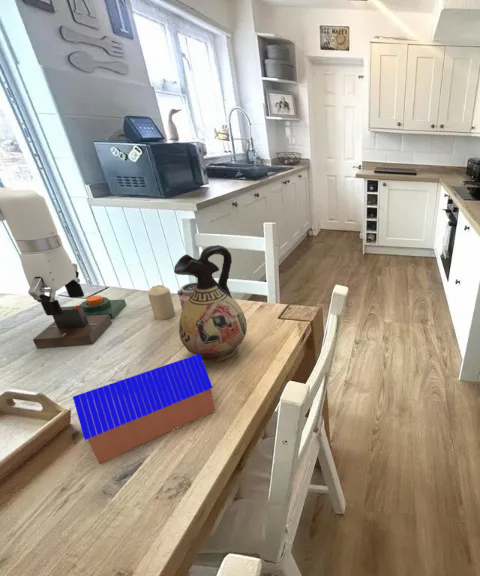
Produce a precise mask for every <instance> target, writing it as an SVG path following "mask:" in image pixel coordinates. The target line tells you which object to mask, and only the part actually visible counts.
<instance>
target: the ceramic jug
mask: <svg viewBox="0 0 480 576" xmlns="http://www.w3.org/2000/svg"><path fill="white" fill-rule="evenodd" d="M214 255H220V256H222V257H223V262H222V266H221V272H220V275H219V278H218V280H217V281H218V282H217V281H216V280H215V278H214V276H213V274H215V273H218V272H219V271H220V267H218V266H217V265H216V263H214V262H212V261H210V260H209V258H210V257H212V256H214ZM232 260H233V259H232V253H231V252H230V251H229V249H228V248H226V247H225V246H224V245H219V244H216V245H209V246H208V247H206V248H204V249H203V250H202V251H201V252H200V256H199V258H198V259H196V258H194V257H193V256H191V255H190V254H184V255H183V256H181V257H180V258H179V259H178V261H177V262H176V264H175V265H174V269H173V270H174V271H173V273H174V274H175V275H181V276H192V277H195V278H196V279H197V282H198V284H197V286H196V288H195V289H194V291H193V292H192V294H191V295H190V297H189V299H188V301H187V303H186V304H185V306H184V308H183V311H182V310H181V313H180V318H179V328H178V329H179V330H178V332H179V333H178V334H179V339H180V341H181V343H182V345H183V346H184V347H185V349H186V350H187V351H188V352H190V353H191V354H193V355H197V354H200V356H201V358H202V361H203V362H205V363H218V362H217V361H219V362H222V361H224V360H223V359H225V360H227V359H229V358H231V357H232V356H234V355H235V353H236V352H237V349H238V347H239V346H240V345H241V343H242V342H243V341H244V339H245V337H246V334H247V331H248V326H247V318H246V315H245V313H244V311H243V309H242V307H241V306H240V305H239V303H238V302H237V301H236V300H235V298H234V297H233V296H232V294H231V291H230V288H229V287H228V280H229V278H230V271H231V267H232V263H233V261H232ZM236 348H237V349H236ZM235 351H236V352H235ZM230 356H231V357H230ZM228 357H229V358H228ZM226 358H227V359H226ZM221 360H222V361H221Z"/></svg>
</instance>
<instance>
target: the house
mask: <svg viewBox="0 0 480 576" xmlns="http://www.w3.org/2000/svg"><path fill="white" fill-rule="evenodd" d="M212 389H213V385H212V382H211V379H210V376H209V374H208V371H207V369H206V366H205V364H204V361H203V360H202V358H201V356H200V354H197V355H195V354H193V355H191V356H188V357H186V358H183V359H179V360H177V361H174V362H171V363H168V364H165V365H162V366H160V367H156V368H153V369H150V370H147V371H145V372H144V371H143V372H141V373H139V374H138V373H137V374H135V375H132V376H129V377H126V378H124V379H120V380H117V381H114V382H112V383H109V384H106V385H103V386H100V387H97V388H94V389H92V390H88V391H85V392H83V393H79V394H76V395H74V396H72V400H73V403H74V406H75V410H76V413H77V418H78V420H79V425H80V428H81V432H82V436H83V439H84V441H86V440H88V443H89V446H90V447H91V449H92V452H93V454H94V456H95V458H96V459H97V462H98V464H103V463H104V462H107V461H109V460H111V459H113V458H115V457H118V456H120V455H122V454H124V453H126V452H128V451H131V450H133V449H135V448H138V447H139V446H143V445H144V444H146V443H148V442H150V441H153V440H155V439H157V438H159V436H160V437H162V436H164V435H166V434H168V433H170V432H169V431H171V430H173V429H175V430H177V429H178V428H177V427H179V428H181V427H180V426H182V425H184V424H186V425H188V424H190V423H192V422H191V421H193V420H195V421H197V420H199V419H200V418H199V417H201V418H203V417H202V416H204V415H206V414H208V415H210V414H212V413H213V412H212V411H215V412H216V406H215V402H214V397H213V393H212ZM211 412H212V413H211ZM209 413H210V414H209ZM206 416H207V415H206ZM204 417H205V416H204ZM198 418H199V419H198ZM196 419H197V420H196ZM189 422H190V423H189ZM193 422H194V421H193ZM187 423H188V424H187ZM184 426H185V425H184ZM182 427H183V426H182ZM176 428H177V429H176ZM173 431H174V430H173ZM167 432H168V433H167ZM171 432H172V431H171ZM165 433H166V434H165ZM163 434H164V435H163ZM161 435H162V436H161ZM156 437H157V438H156Z"/></svg>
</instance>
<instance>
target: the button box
mask: <svg viewBox="0 0 480 576" xmlns="http://www.w3.org/2000/svg"><path fill="white" fill-rule="evenodd" d="M101 297H102V299H103V302H102V303H100V304H97V305H88V304H87V301H86V300H83V301H81V303H80V304H79V305H81V306H82V307H83V310H84V312H85V315H86V316H90V315H107V314H109V315H110V318H111V321H112V320H115V319H116V317H117V316H118V315H119V314H120V313H121V312H122V311H123V310H124V309H125V307H126V306H127V303H126V300H125V299H124V298H123V299H109V297H105V296H101Z"/></svg>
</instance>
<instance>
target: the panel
mask: <svg viewBox="0 0 480 576" xmlns="http://www.w3.org/2000/svg"><path fill="white" fill-rule="evenodd" d="M86 318H87V320H88V324H87V325H86V326H85V327H75V328H60V329H58V327H57V325H56V323H55V321H54V320H53V321H52V323H50V325H48V326H47V327H46V328H44V330H42V331H41V332H40V333H39V334H38V335H36V336H35V337H34V338H33V339H32V341H33V343H34V345H35V347H36V349H37V350H43V349H56V348H65V347H78V346H92V345H94V344H95V343H96V342H97V341H98V339H100V337H101V336H102V335H103V334H104V333H105V332H106V331H107V329H108V328H109V327H110V326H111V325H112V324H113V321H112V320H111V318H110V315H109V314H107V315H90V316H86Z"/></svg>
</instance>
